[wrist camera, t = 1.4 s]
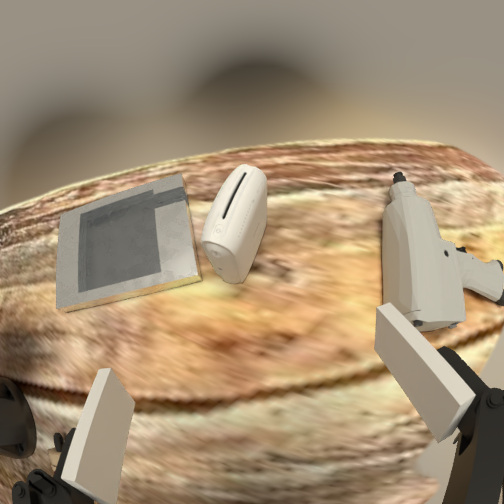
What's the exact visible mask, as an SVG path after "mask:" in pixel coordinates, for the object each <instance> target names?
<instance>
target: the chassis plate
mask: <svg viewBox="0 0 504 504" xmlns="http://www.w3.org/2000/svg"><path fill="white" fill-rule="evenodd" d="M200 281H202V276H201V271H200V266H199V261H198V256H197V250H196V245H195V239H194V234H193V228H192V222H191V216H190V210H189V204H188V197H187V191H186V184H185V181H184V179H183V176H182V174H181V173H180V174H177V175H173V176H170V177H167V178H163V179H160V180H157V181H153V182H150V183H147V184H144V185H141V186H137V187H134V188H131V189H128V190H125V191H122V192H119V193H117V194H114V195H111V196H108V197H105V198H103V199H100V200H97V201H94V202H92V203H89V204H86V205H84V206H81V207H79V208H76V209H74V210H71V211H69V212H66V213H64V214H61V217H60V226H59V236H58V248H57V267H56V309H58V310H61V311H63V312H66V313H67V312H72V311H76V310H81V309H85V308H90V307H94V306H99V305H103V304H107V303H112V302H116V301H120V300H125V299H129V298H133V297H138V296H142V295H146V294H150V293H154V292H159V291H163V290H167V289H171V288H175V287H179V286H184V285H188V284H192V283H196V282H200Z"/></svg>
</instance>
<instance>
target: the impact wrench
mask: <svg viewBox="0 0 504 504" xmlns="http://www.w3.org/2000/svg"><path fill="white" fill-rule="evenodd" d="M393 176H394V178H393V182H394V185H392V186H391V188H390V189H389V193H390V197H391V200H392V202H391V203H390V204H389V205H387V206H386V208H385V210H384V212H383V237H382V267H383V305H384V304H387V303H389V302H390V303H391V304H392V305H393V306H394V307H395V308H396V309H397V310H398V311H399V312H400V313H401V314H402V315H403V316H404V317H405V318H406V319H407V320H408V321H409V322H410V323H411V324H412V325H413V326H414V327H415V328H416V329H417V330H418V331H419V332H421V331H434V330H436V329H440V328H444V327H447V326H448V328H450V329H452V328H455V327H457V325H456V324H458V323H460V322H463V321H466V313H465V302H464V294H463V288H468V289H471V290H473V291H475V292H477V293H479V294H481V295H483V296H485V297H487V298H489V299H491V300H492V301H495V302H496V301H497V303H498V304H499V305H501V306H504V289H503V287H504V274H503V264H502V262H501V261H499V260H491V261H490V262H488V263H483V262H482V261H480V260H479V259H477V258H476V257H475V256H474V255H473V254H469V253H467V252H466V250H465V249H466V248H465V247H461V248H456V246H455V243H452V242H449V241H446V240H443V239H441V236H440V232H439V229H438V225H437V222H436V219H435V216H434V213H433V210H432V207H431V205H430V203H429V201H427V200H426V199H425V198H422V197H417V194H416V189H415V186H414V185H413V184H412V183H410V182H408V181H406V178H405V176H403V173H402V172H397V173H395V174H394V175H393Z"/></svg>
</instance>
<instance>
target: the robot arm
mask: <svg viewBox="0 0 504 504" xmlns="http://www.w3.org/2000/svg"><path fill="white" fill-rule="evenodd" d="M374 349H375V351H376V352H377V354H378V355H379V356H380V358H381V359H382V361H383V362H384V363H385V365H386V366H387V368H388V369H389V371H390V372H391V373H392V375H393V376H394V378H395V379H396V381H397V382H398V383H399V385H400V386H401V388H402V389H403V391H404V392H405V394H406V395H407V397H408V398H409V400H410V401H411V403H412V404H413V405H414V407H415V408H416V410H417V411H418V413H419V415H420V416H421V418H422V419H423V421H424V422H425V424H426V425H427V427H428V428H429V430H430V431H431V433H432V434H433V436H434V438H435V439H436V441H437V442H438V443H439V442H441V441H442V440H444V439H446V438H447V437H448V436H450V435H452V434H453V432H454V431H455V429H456V428H457V427H458V429H459V430H460V433H459V434H458V435H457V437H456V438H455V440H454V442H453V444H455V443H456V442H457V441H458V443H457V448H456V453H455V458H454V463H453V467H452V471H451V475H450V479H449V483H448V486H447V490H446V493H445V496H444V499H443V502H442V504H498V502H499V497H500V492H501V488H502V489H503V490H502V491H503V502H502V504H504V390H501V389H498V388H489V387H488V386H487V385H486V384H485V383H484V382H483V381H482V380H481V379H480V378H479V377H478V376H477V374H476V373H475V372H474V371H473V370H472V369H471V368H470V367H469V366H467V364H466V363H465V362H464V361H463V360H461V357H460V356H459V355H458V354H457V353H456V352H455V351H453V350H451V349H449V348H447V347H445V346H443V347H442V348H440V349H438V350H436V349H435V348H434V347H433V346H432V345H431V344H430V343H429V342H428V341H427V340H426V339H425V338H424V337H423V335H422V334H421V333H420V332H419V331H418V330H417V329H416V328H415V327H414V326H413V325H412V324H411V323H410V322H409V321H408V320H407V319H406V318H405V317H404V316H403V315H402V314H401V313H400V312H399V311H398V310H397V309H396V308H395V307H394V306H393V305H392V304H391V303H390V302H389V303H387V304H384V305H381V306H378V307H377V309H376V332H375V347H374ZM134 406H135V402H134V400H133V399H132V398H131V396H130V395H129V393H128V392H127V391H126V389H125V388H124V386H123V385H122V384H121V382H120V381H119V379H118V378H117V376H116V375H115V373H114V372H113V370H112V369H111V368H105V369H99V371H98V373H97V376H96V378H95V380H94V383H93V385H92V388H91V390H90V393H89V395H88V398H87V400H86V403H85V406H84V408H83V411H82V414H81V416H80V419H79V422H78V425H77V428H72V429H71V431H70V432H69V433H68V435H67V436H66V439H65V442H64V446H63V448H62V453H61V454H60V457H59V460H58V464H57V467H56V470H55V474H54V477H53V478H52V477H51V476H50V475H48V474H47V473H46V472H44V471H43V470H41V469H35V470H33V471H31V472H30V473H29V475H28V477H27V484H26V483H25V482H23V481H19V482H16V483H15V485H14V486H13V489H12V500H13V504H94V500H95V501H96V502H98V503H100V504H117V497H118V490H119V483H120V477H121V471H122V465H123V460H124V454H125V449H126V444H127V439H128V434H129V429H130V424H131V420H132V415H133V411H134ZM35 445H36V431H35V425H34V420H33V417H32V413H31V411H30V408H29V405H28V403H27V401H26V399H25V397H24V395H23V394H22V392H21V391H20V389H19V388H18V387H17V385H16V384H15V383H14V382H13V381H11V380H10V379H8V378H5V377H0V455H3V456H7V457H11V458H15V459H20V458H26V457H29V456H30V455H32V453H33V452H34V449H35Z"/></svg>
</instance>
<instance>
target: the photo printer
mask: <svg viewBox="0 0 504 504" xmlns="http://www.w3.org/2000/svg"><path fill="white" fill-rule="evenodd" d="M266 223H267V179H266V176H265V175H264V173H263V172H262V171H261V170H260V169H258V168H257V167H252V166H249V165H246V164H242V165H240V166H238V167H237V168H236V169H235V170H234V171H233V172H232V173H231V174H230V175H229V177H228V178H227V179H226V181H225V182H224V184H223V185H222V187H221V189H220V191H219V192H218V194H217V196H216V198H215V200H214V202H213V204H212V207H211V209H210V211H209V213H208V216H207V218H206V221H205V224H204V228H203V232H202V237H201V246H202V248H203V250H204V251H205V253H206V255H207V257H208V259H209V261H210V263H211V265H212V267H213V268H214V270H215V272H216V274H218V275H220V277H221V278H222V279H223V280H224V281H225V282H228V283H231V284H236V283H239V282H241V283H242V282H243V281H244V280H245V278H246V276H247V275H248V272H249V270H250V268H251V265H252V263H253V261H254V258H255V256H256V253H257V250H258V248H259V245H260V242H261V240H262V237H263V234H264V231H265V227H266Z"/></svg>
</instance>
